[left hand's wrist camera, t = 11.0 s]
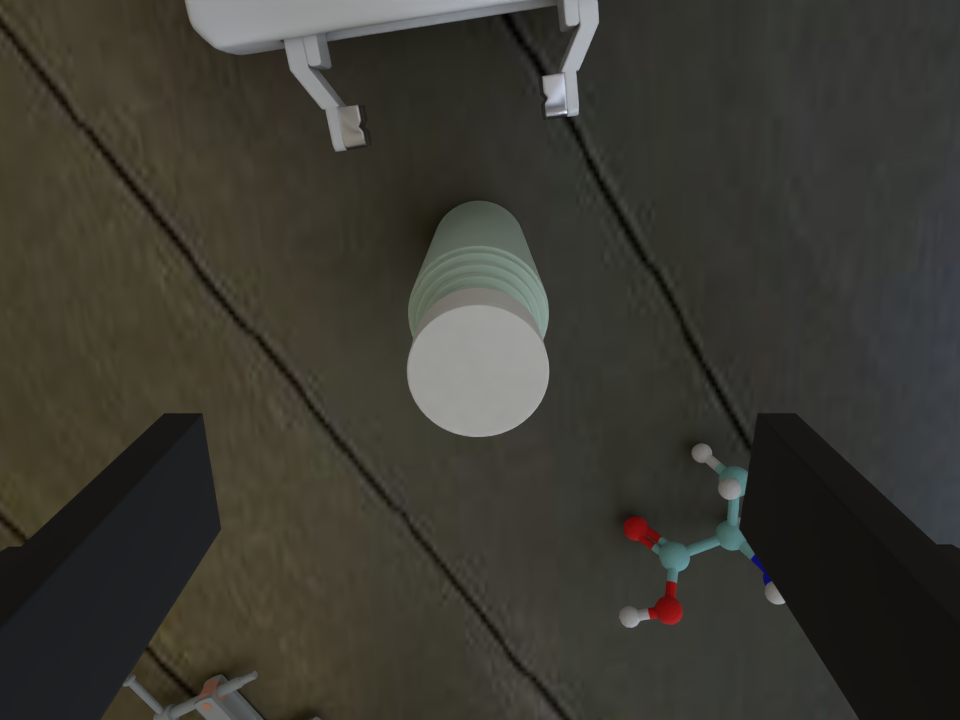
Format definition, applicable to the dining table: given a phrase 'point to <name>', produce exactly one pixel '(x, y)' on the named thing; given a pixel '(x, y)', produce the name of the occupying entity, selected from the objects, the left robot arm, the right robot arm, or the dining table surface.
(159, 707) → the clamp
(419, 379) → the cap
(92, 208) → the dining table surface
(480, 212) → the bottle
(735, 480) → the molecular model
